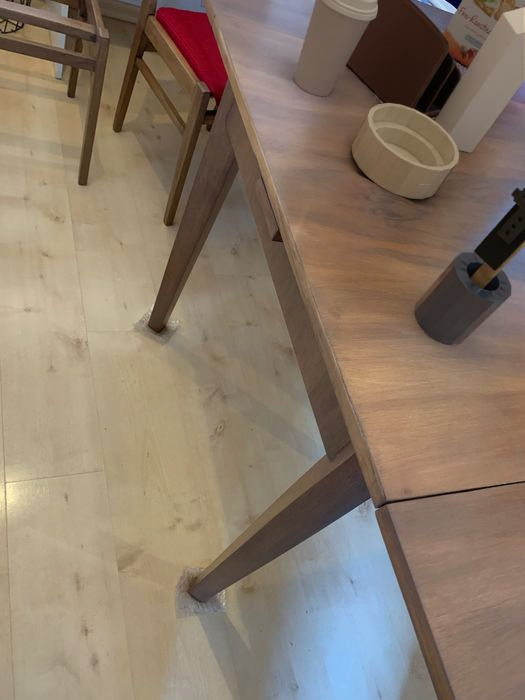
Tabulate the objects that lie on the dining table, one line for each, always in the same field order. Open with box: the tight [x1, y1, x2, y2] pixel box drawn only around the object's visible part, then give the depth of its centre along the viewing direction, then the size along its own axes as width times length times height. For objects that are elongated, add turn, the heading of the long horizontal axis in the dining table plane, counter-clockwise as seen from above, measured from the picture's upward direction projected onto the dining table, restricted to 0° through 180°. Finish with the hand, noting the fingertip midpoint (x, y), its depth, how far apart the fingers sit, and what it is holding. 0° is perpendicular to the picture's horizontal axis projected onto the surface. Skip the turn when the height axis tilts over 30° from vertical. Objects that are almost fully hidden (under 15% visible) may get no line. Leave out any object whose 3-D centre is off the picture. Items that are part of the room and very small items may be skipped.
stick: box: [470, 242, 525, 289], centre depth 60 cm, size 2×2×18 cm
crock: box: [414, 251, 512, 346], centre depth 64 cm, size 7×7×9 cm
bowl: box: [351, 102, 460, 200], centre depth 81 cm, size 14×14×6 cm
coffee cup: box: [293, 0, 378, 97], centre depth 85 cm, size 10×10×15 cm
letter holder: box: [346, 0, 462, 118], centre depth 93 cm, size 10×20×14 cm, turn 36°
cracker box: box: [442, 0, 525, 68], centre depth 107 cm, size 14×6×21 cm, turn 55°
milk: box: [434, 7, 525, 154], centre depth 86 cm, size 6×6×22 cm
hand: (517, 239), depth 56 cm, fingers open, 12 cm apart
